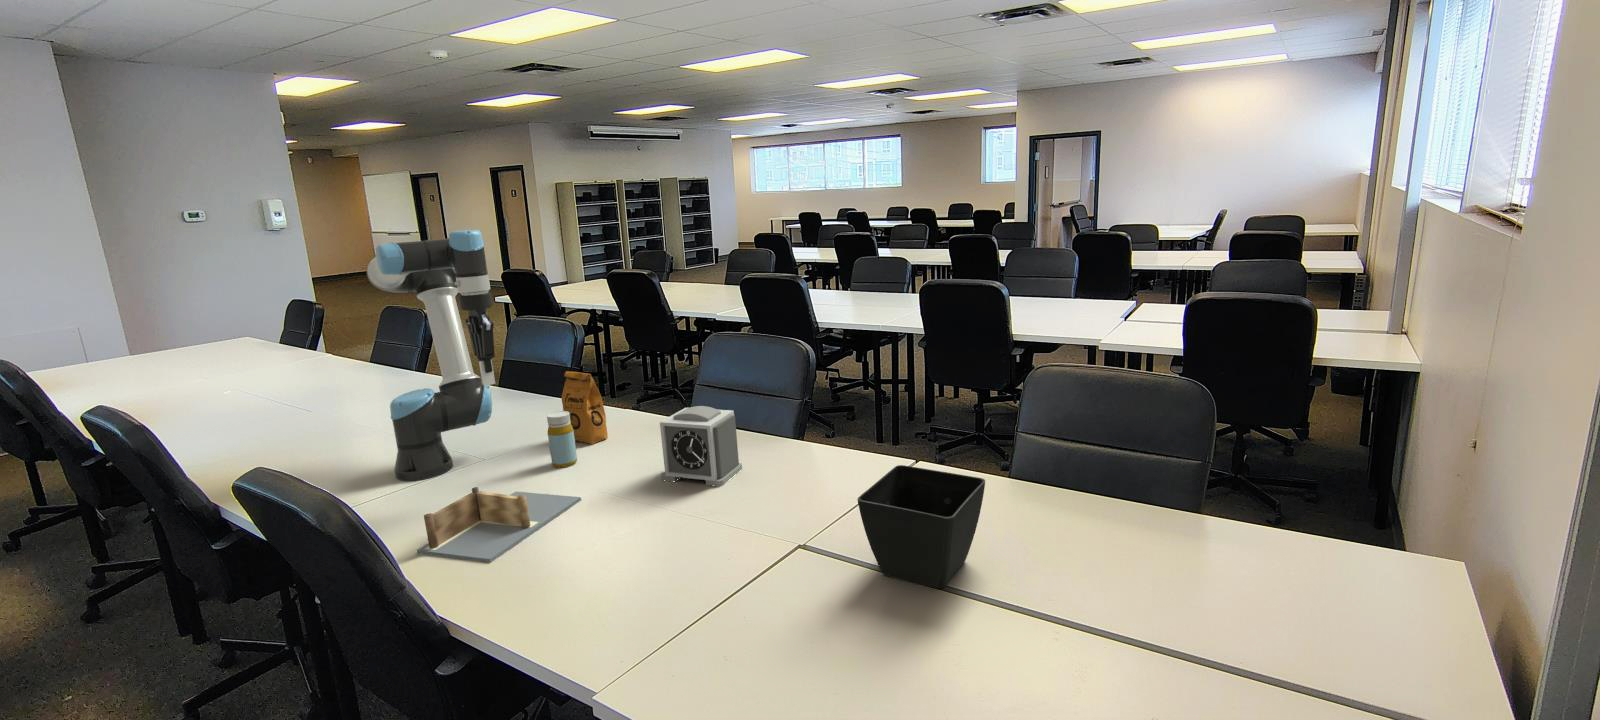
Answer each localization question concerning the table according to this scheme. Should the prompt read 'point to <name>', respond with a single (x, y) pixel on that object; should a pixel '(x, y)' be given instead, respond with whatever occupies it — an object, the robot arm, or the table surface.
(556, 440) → the bottle
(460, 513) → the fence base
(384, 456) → the table surface
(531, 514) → the board
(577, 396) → the coffee package
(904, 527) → the flower pot
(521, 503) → the panel
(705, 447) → the alarm clock
